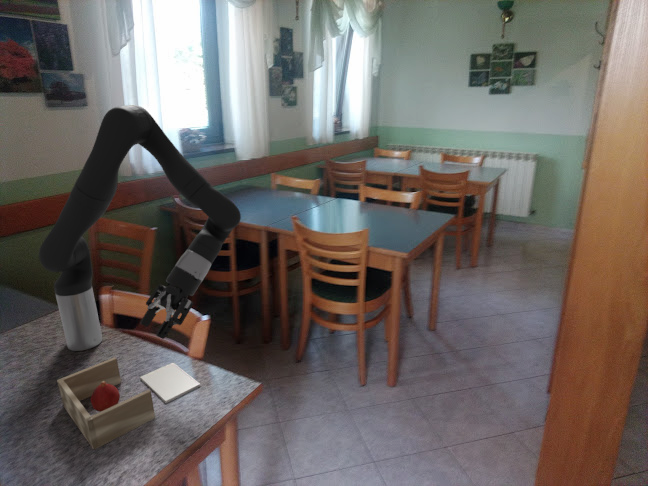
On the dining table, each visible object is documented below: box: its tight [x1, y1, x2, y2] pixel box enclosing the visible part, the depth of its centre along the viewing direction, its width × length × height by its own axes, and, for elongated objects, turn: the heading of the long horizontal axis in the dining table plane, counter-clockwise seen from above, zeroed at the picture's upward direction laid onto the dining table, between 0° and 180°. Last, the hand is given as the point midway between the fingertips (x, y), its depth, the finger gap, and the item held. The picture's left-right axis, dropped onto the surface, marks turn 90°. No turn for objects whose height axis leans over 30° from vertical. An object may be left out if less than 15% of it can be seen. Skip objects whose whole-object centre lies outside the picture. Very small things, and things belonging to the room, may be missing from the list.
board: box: [139, 362, 201, 404], centre depth 110 cm, size 14×9×1 cm, turn 45°
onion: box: [90, 381, 121, 413], centre depth 99 cm, size 6×6×8 cm
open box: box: [56, 356, 156, 450], centre depth 99 cm, size 20×13×7 cm, turn 45°
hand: (151, 331), depth 104 cm, fingers open, 8 cm apart
